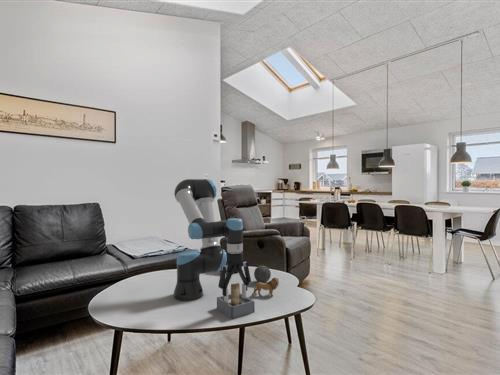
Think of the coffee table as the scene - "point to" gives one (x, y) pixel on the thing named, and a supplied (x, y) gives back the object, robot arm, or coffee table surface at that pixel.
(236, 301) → the peg
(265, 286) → the lion figurine
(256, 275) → the decorative ball
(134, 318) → the coffee table surface
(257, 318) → the coffee table surface
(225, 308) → the box
